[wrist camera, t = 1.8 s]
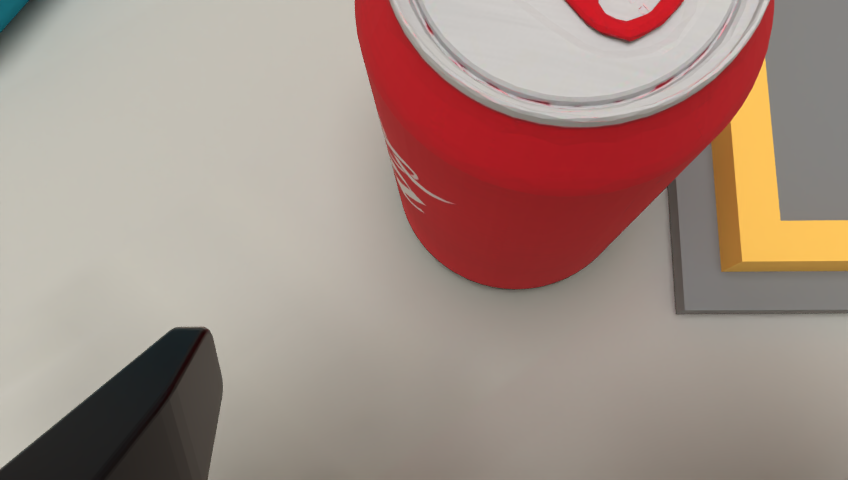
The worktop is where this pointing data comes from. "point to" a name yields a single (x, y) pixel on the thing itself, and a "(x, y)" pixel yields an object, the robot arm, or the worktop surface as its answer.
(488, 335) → the worktop surface
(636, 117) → the beverage can
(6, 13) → the ice cube tray
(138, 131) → the worktop surface
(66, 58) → the worktop surface
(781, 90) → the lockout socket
